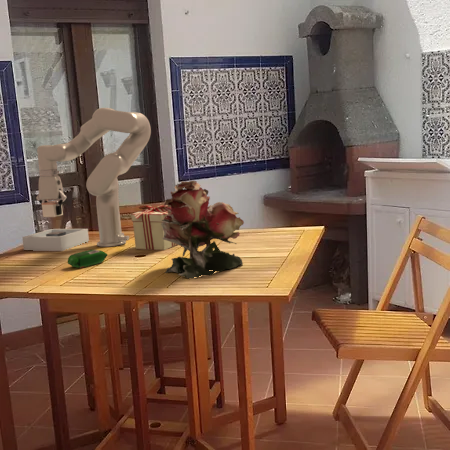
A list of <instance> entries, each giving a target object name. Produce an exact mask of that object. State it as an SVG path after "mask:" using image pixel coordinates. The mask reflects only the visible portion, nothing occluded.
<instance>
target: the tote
mask: <svg viewBox="0 0 450 450" xmlns="http://www.w3.org/2000/svg"><path fill="white" fill-rule="evenodd" d="M52 232H66V235H63V236H60V237H46V234H48V233H52ZM21 238H22V245H23V246H22V247H23V251H24V250H33V251H32V252H47V251H48V252H63V251H64V252H65V251H66V249H67V250H70V249H72V247H73V248H75V247H74V246H76V247H78V246H77V245H79V246H81V245H83V244H82V243H84V244H86V243H85V242H87V243H89V242H90V239H89V238H90V237H89V229H88V228H53V229H52V228H51V229H46V230H42V231H39V232H36V233H32V234H27V235H24V236H22V237H21ZM88 241H89V242H88ZM80 244H81V245H80ZM69 248H70V249H69Z"/></svg>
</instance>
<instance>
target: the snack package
mask: <svg viewBox="0 0 450 450" xmlns="http://www.w3.org/2000/svg"><path fill="white" fill-rule="evenodd" d="M107 256H108V254H107V252H105V251H104V250H101V249H88V250H84V251H80V252H75V253H72V254H71V255H69V256H68V259H67V264H68V265H70V266H71V267H73V268H76V269H84V268H86V267H91V266H95V265H98V264H102V263H103V262H104V261H105V260H106V258H107Z"/></svg>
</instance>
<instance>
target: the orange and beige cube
mask: <svg viewBox="0 0 450 450" xmlns="http://www.w3.org/2000/svg"><path fill="white" fill-rule="evenodd" d="M56 206H57V205H56V203H55V200H52V201H48V202H46V203H42V205H41V209H42V216H43V217H42V218H56V217H60V216H64V213H63V210H62V214H61V215H56ZM61 207H62V208H63V204H62V205H61Z"/></svg>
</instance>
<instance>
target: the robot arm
mask: <svg viewBox="0 0 450 450" xmlns="http://www.w3.org/2000/svg"><path fill="white" fill-rule="evenodd" d="M91 117H92V118H90V119H89V120H87V121H86V122H85V123H84V124H82V125H81V126H80V131H79V133H78V134H77V135H76V136H75V137H74V138H73V139H71V140H70V141H68V142H67V143H57V144H54V145H52V144H44V145H38V146H37V149H36V151H37V161H38V169H39V170H38V171H39V178H38V194H37V196H36V197H35V199H36V201H38V203H39V204H40V205H41V206H42V203H46V202H49V201H55V203H56V205H57V206H56V215H60V216H62V215H61V214H62V211H63V204H64V202H65V201H66V199H67V195H65V193H64V188H63V182H62V180H61V177H60V176H59V174H60V170H58V164H57V162H59V163H60V162H62V163H63V162H68V161H73V160H75V159H76V158H78V157H80V156H81V155H82V154H84V153H85V152H86V151H87V150H88V149H89V148H90V147H92V146H93V144H94V143H96V142H97V141H98V140H99V139H101V138H102V137H104V136H105V135H106V134H107V133H109V132H117V133H118V132H119V133H124V134H129V135H128V136H127V137H125V139H124V140H123V141H122V143H121V145H120V146H119V147H118V148H117V149H116V151H114V152H109V153H107V154H106V155H104V156H103V157H102V159H101V160H100V161H99V162H98V164H97V165H96V166H95V168H94V169H93V170H92V171H91V173H90V175H89V176H88V178H87V179H86V182H85V183H86V185H85V187H86V189H87V192H88V193H89V194H90V195H92V196H95V197H96V199H95V200H96V201H95V203H96V214H97V216H96V217H97V223H98V224H97V226H98V234H99V241H97V242H96V246H97V247H102V248H105V247H116V246H122V245H125V244H126V243H127V241H129V239H130V235H125V232H122V223H121V215H120V204H119V203H120V201H119V200H120V199H119V191H120V189H119V180H118V176H121V175H123V174H125V173H127V172H128V171H129V170H130V169H131V167H132V165H133V164H134V162H136V160H137V159H138V158H139V156H140V154H141V152H142V151H143V150H144V149H145V148H146V146H147V145H148V142H149V141H150V138H151V134H152V130H151V128H152V127H151V124H150V121H149V119H148V117H147V116H146V115H144V114H143V113H140V112H135V111H122V110H115V109H114V108H111V107H99V108H98V109H96V110H95V111H94V112H93V114H92V115H91ZM61 205H62V207H61Z"/></svg>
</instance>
